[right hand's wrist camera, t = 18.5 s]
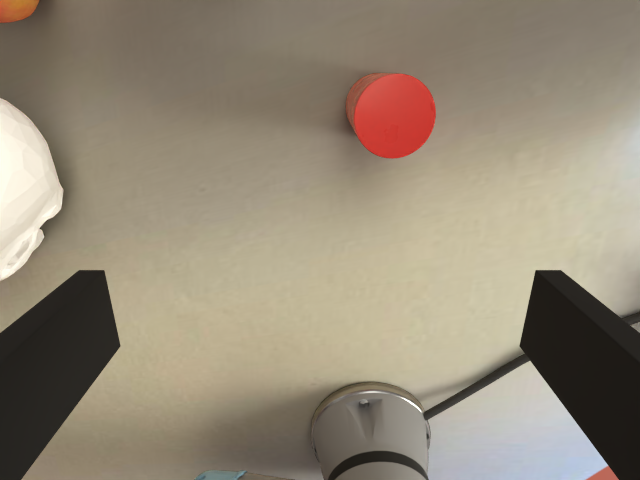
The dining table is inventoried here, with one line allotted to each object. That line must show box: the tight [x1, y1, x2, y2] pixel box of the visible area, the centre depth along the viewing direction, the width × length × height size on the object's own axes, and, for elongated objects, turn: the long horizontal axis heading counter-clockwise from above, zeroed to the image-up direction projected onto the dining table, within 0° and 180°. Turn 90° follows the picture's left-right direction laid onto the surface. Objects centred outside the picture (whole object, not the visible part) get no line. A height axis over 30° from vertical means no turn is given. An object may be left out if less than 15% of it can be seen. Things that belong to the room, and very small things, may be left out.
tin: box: [346, 73, 436, 158], centre depth 34 cm, size 6×6×11 cm
